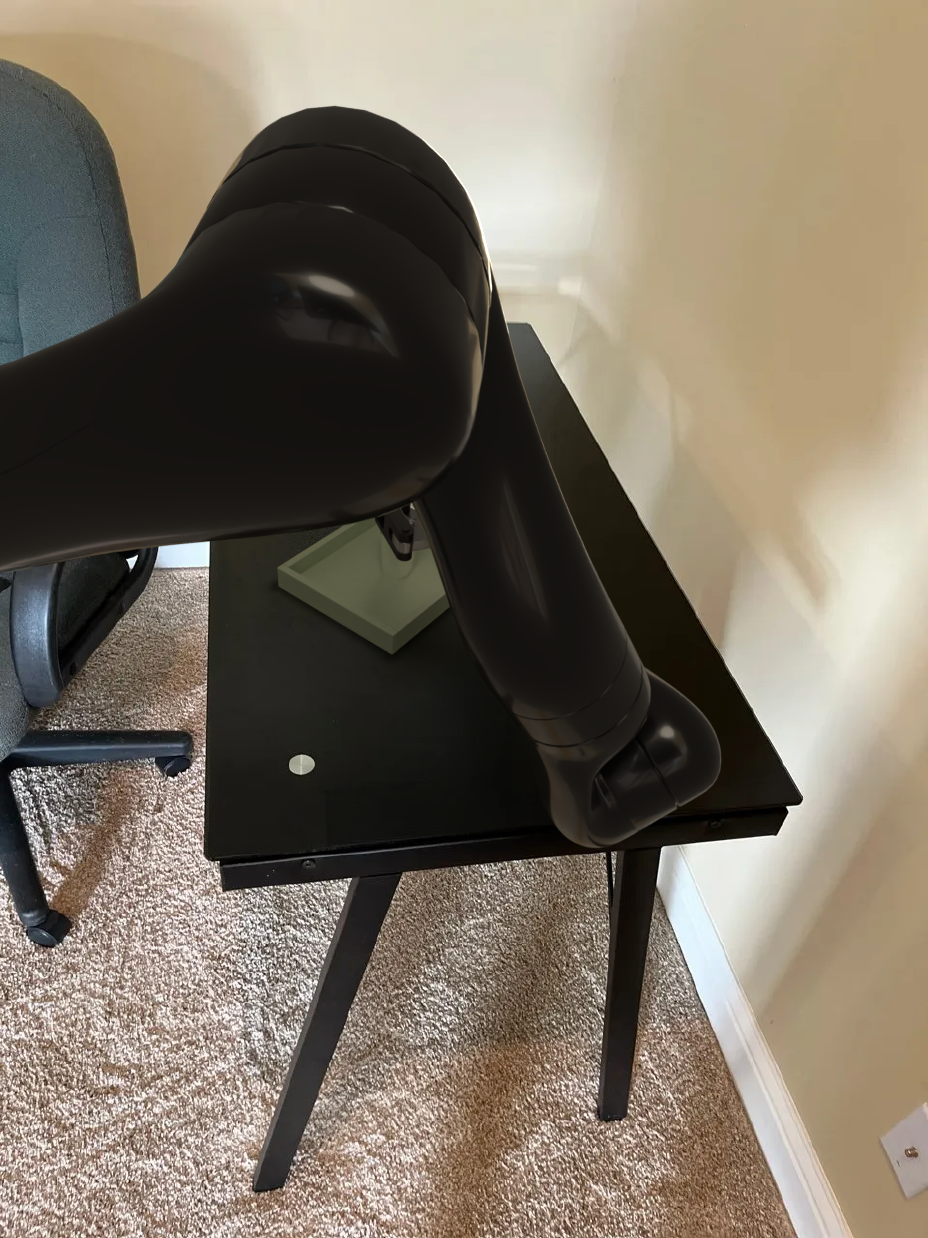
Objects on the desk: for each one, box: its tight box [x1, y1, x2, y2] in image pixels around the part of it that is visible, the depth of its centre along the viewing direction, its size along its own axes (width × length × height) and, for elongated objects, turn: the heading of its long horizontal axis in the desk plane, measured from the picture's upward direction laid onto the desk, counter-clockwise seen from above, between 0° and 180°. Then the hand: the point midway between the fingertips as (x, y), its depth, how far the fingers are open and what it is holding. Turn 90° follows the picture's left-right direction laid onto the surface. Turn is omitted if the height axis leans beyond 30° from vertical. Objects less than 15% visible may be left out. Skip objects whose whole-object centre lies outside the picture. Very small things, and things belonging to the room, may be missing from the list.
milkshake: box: [380, 503, 415, 579], centre depth 87 cm, size 4×5×10 cm
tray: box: [276, 518, 450, 655], centre depth 90 cm, size 20×16×3 cm
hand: (440, 465), depth 70 cm, fingers open, 8 cm apart
